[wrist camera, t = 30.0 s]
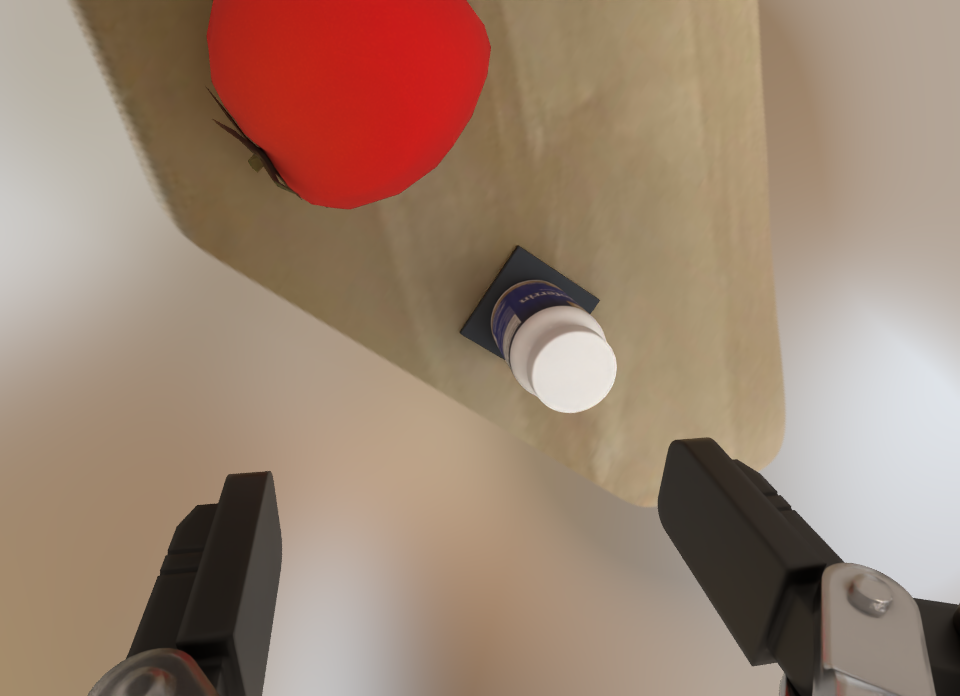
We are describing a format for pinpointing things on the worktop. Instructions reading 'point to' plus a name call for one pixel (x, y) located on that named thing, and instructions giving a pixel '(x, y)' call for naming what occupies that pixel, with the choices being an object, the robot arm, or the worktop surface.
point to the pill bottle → (553, 346)
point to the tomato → (347, 89)
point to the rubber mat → (513, 272)
